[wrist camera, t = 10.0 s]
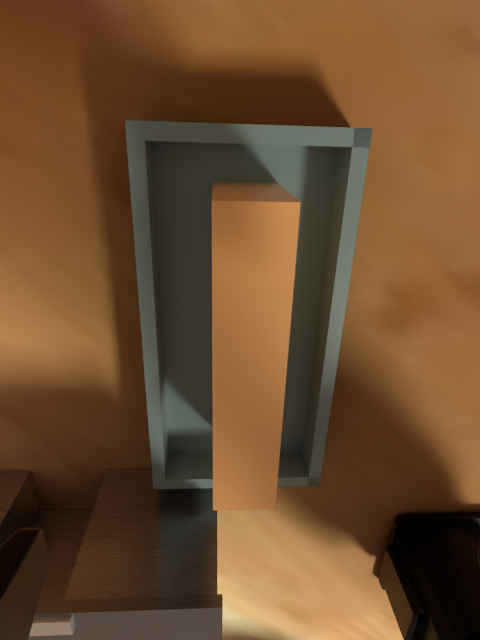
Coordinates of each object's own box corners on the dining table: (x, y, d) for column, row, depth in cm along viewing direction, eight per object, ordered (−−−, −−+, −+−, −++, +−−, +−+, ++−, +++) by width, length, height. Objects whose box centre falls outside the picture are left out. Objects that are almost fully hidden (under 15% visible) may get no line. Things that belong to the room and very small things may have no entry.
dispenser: (220, 464, 23) (222, 613, 16) (219, 565, 26) (220, 724, 19) (-92, 469, 22) (-238, 629, 15) (-50, 573, 25) (-152, 743, 18)
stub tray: (352, 128, 16) (372, 128, 14) (309, 453, 23) (319, 486, 21) (136, 121, 15) (124, 120, 13) (159, 455, 22) (153, 489, 20)
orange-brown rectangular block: (276, 182, 16) (300, 202, 12) (262, 427, 21) (275, 508, 17) (213, 180, 16) (211, 200, 12) (213, 428, 21) (212, 510, 16)
